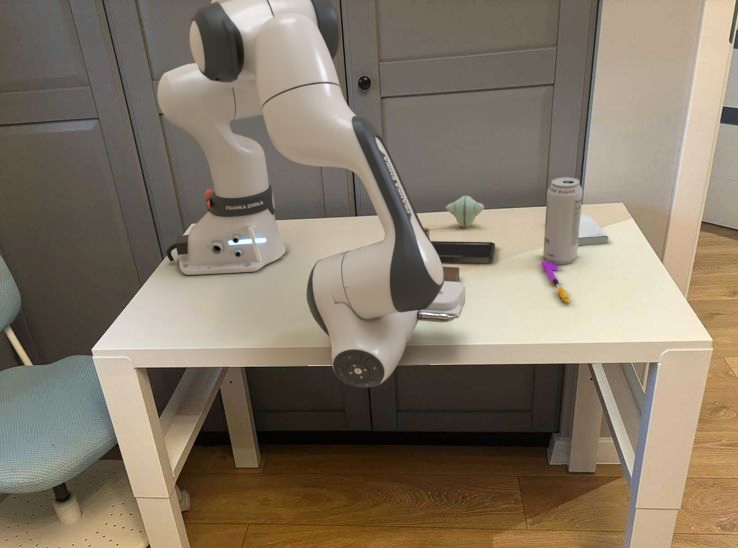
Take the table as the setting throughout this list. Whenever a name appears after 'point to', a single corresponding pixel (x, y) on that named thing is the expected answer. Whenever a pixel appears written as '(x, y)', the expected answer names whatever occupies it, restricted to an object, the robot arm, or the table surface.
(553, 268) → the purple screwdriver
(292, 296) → the table surface
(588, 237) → the hard drive
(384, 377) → the robot arm
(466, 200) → the mint green lobed ornament
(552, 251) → the energy drink can
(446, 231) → the table surface
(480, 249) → the phone
